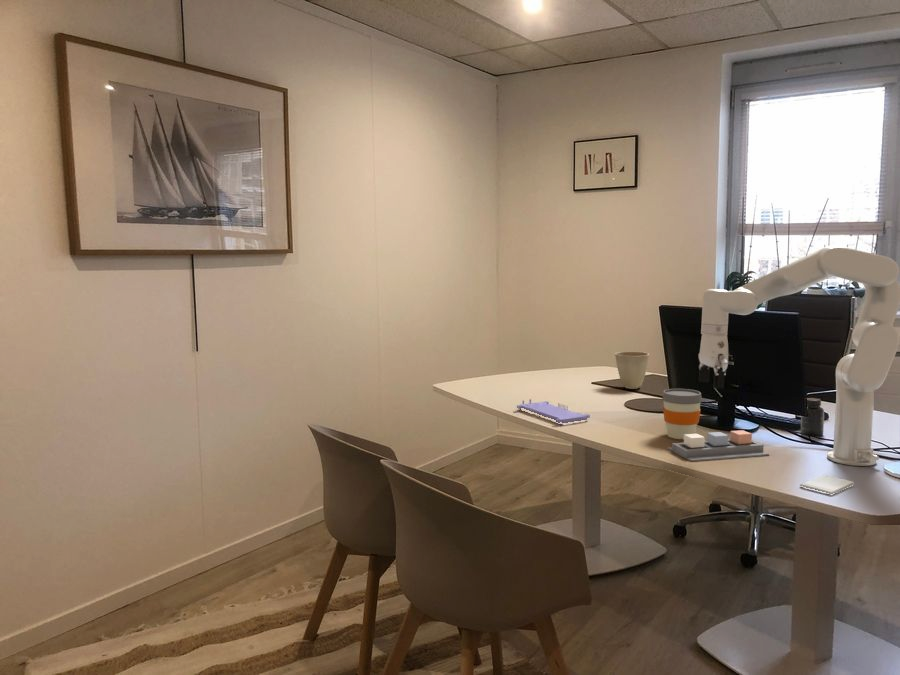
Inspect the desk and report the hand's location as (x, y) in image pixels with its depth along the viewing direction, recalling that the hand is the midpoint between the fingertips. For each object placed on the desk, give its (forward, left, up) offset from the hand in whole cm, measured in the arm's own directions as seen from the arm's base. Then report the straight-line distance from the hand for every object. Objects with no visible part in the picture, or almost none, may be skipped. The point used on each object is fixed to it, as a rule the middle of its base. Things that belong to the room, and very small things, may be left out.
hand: (711, 384), depth 213 cm
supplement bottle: (+10, -44, -21) cm, 50 cm away
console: (-1, -2, -21) cm, 21 cm away
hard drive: (-36, -12, -22) cm, 44 cm away
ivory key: (-1, +6, -18) cm, 19 cm away
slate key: (-1, -2, -18) cm, 19 cm away
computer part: (+57, +32, -22) cm, 69 cm away
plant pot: (+98, -21, -21) cm, 102 cm away
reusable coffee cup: (+19, -1, -21) cm, 28 cm away
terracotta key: (-1, -10, -18) cm, 21 cm away
